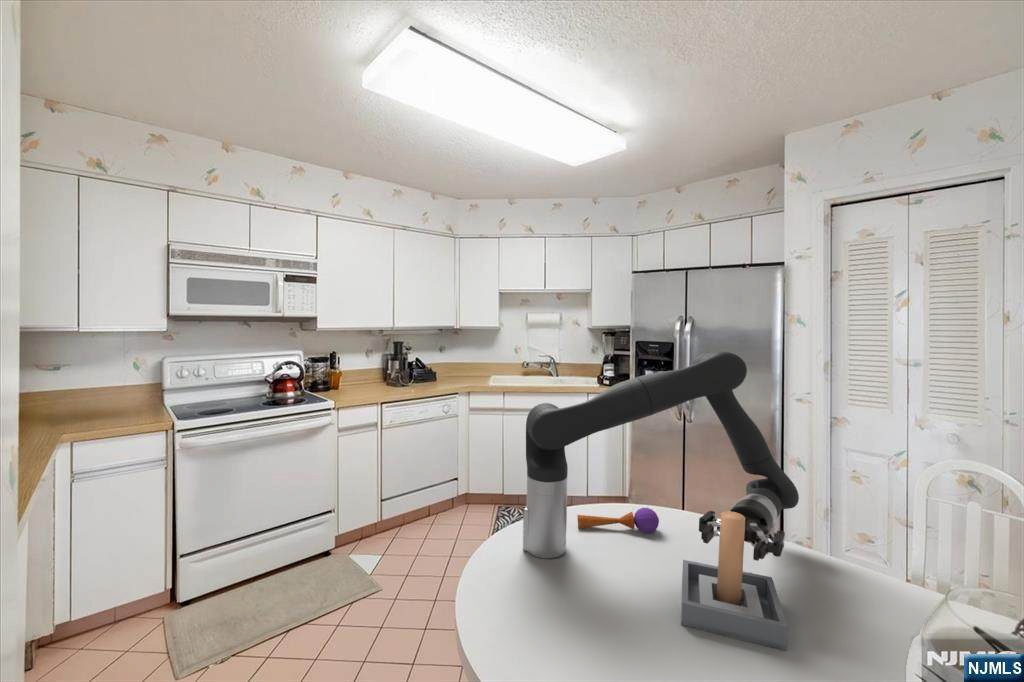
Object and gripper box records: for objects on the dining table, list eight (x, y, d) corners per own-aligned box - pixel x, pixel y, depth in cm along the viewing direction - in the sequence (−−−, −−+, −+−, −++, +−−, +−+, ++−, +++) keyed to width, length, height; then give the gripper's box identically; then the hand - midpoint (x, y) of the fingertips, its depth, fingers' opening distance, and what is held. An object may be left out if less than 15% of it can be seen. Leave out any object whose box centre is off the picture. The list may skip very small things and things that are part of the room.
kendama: (576, 506, 118) (654, 504, 116) (578, 530, 117) (656, 529, 115) (577, 512, 112) (659, 510, 110) (579, 537, 111) (662, 536, 109)
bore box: (681, 624, 79) (681, 602, 78) (682, 578, 93) (682, 559, 92) (786, 650, 73) (787, 627, 73) (770, 597, 87) (771, 577, 86)
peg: (717, 609, 82) (721, 518, 80) (715, 596, 85) (720, 509, 84) (741, 615, 80) (746, 522, 79) (739, 602, 84) (743, 513, 83)
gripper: (717, 489, 98) (690, 514, 86) (793, 509, 88) (775, 539, 76) (716, 523, 98) (689, 552, 86) (792, 546, 89) (773, 582, 77)
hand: (729, 546), depth 81 cm, fingers open, 8 cm apart
